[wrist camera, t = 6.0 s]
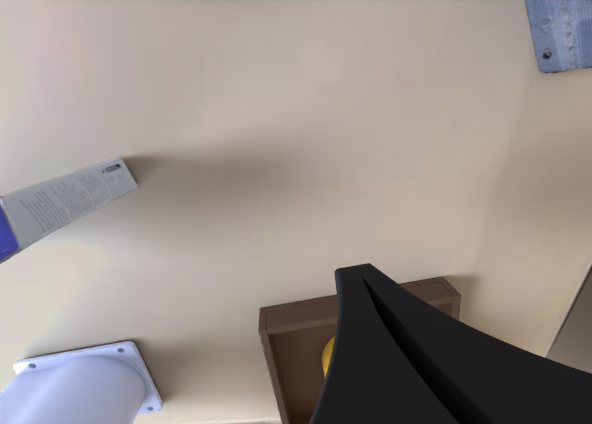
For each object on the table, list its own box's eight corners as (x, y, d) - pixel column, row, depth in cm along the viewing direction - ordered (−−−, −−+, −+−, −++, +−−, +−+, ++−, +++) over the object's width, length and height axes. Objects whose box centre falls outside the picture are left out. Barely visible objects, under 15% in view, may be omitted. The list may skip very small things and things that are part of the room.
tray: (285, 414, 27) (286, 442, 25) (259, 308, 22) (258, 330, 20) (436, 387, 28) (450, 412, 25) (442, 276, 23) (461, 294, 21)
